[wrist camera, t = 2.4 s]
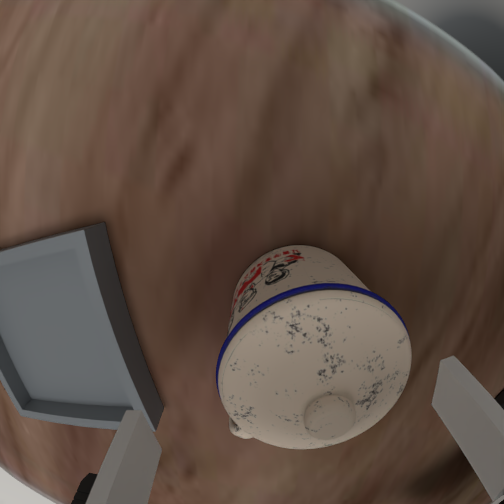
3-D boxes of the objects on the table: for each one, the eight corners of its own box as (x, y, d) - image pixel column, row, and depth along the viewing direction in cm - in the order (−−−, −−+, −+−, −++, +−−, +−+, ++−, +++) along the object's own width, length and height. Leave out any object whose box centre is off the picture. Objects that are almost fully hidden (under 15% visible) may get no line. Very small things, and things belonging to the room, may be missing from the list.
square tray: (104, 222, 20) (83, 229, 17) (164, 408, 24) (155, 431, 21) (-24, 257, 21) (-44, 265, 18) (34, 399, 24) (21, 415, 21)
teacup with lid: (278, 212, 20) (311, 262, 8) (382, 284, 21) (476, 375, 10) (186, 350, 22) (143, 474, 11) (286, 401, 23) (301, 523, 12)
